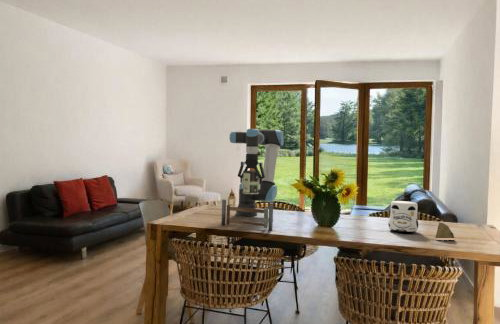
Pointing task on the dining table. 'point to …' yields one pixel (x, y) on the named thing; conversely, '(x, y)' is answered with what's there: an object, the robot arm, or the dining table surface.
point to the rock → (444, 231)
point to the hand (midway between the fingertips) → (250, 188)
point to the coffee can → (250, 182)
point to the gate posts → (269, 214)
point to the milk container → (403, 216)
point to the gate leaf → (247, 211)
